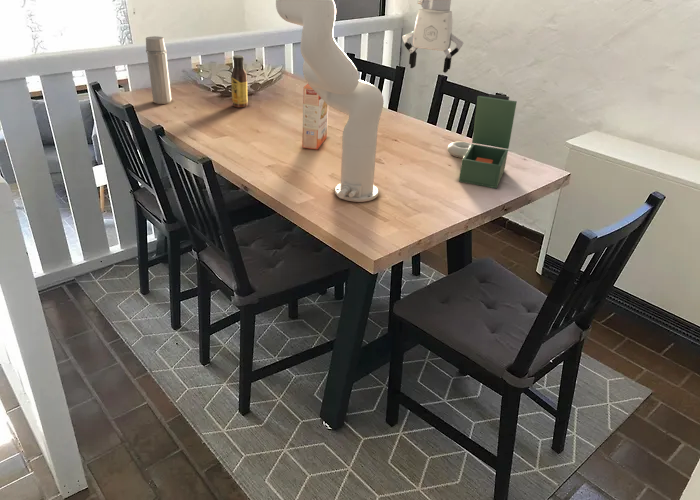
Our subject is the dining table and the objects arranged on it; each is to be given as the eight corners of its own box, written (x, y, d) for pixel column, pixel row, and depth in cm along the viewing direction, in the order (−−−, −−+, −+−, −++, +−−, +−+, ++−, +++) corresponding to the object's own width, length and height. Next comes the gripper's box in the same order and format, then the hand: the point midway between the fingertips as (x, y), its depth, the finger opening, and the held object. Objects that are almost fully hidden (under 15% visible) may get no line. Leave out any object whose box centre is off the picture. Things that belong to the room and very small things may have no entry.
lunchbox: (496, 188, 173) (500, 166, 169) (458, 181, 176) (462, 159, 172) (504, 171, 185) (508, 149, 182) (468, 164, 189) (472, 143, 185)
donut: (442, 150, 200) (454, 160, 192) (443, 140, 198) (455, 150, 190) (468, 148, 203) (481, 158, 194) (469, 139, 201) (482, 148, 193)
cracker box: (318, 150, 194) (320, 88, 183) (301, 148, 195) (301, 86, 184) (328, 137, 206) (330, 78, 195) (312, 135, 206) (313, 76, 196)
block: (487, 180, 176) (490, 165, 173) (471, 177, 177) (474, 162, 175) (490, 174, 180) (493, 159, 178) (474, 171, 182) (477, 157, 179)
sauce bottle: (230, 104, 235) (227, 54, 225) (245, 103, 237) (243, 53, 227) (234, 108, 230) (232, 58, 220) (249, 107, 232) (247, 57, 222)
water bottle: (152, 100, 235) (144, 36, 222) (172, 99, 237) (165, 36, 225) (152, 106, 227) (144, 40, 215) (173, 105, 230) (166, 40, 217)
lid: (516, 102, 170) (519, 93, 174) (477, 96, 173) (481, 88, 177) (508, 149, 181) (511, 139, 185) (472, 142, 185) (475, 134, 188)
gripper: (401, 3, 154) (396, 68, 163) (465, 9, 149) (456, 76, 158) (409, 0, 160) (403, 63, 169) (470, 6, 155) (461, 70, 164)
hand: (429, 69), depth 163 cm, fingers open, 9 cm apart
